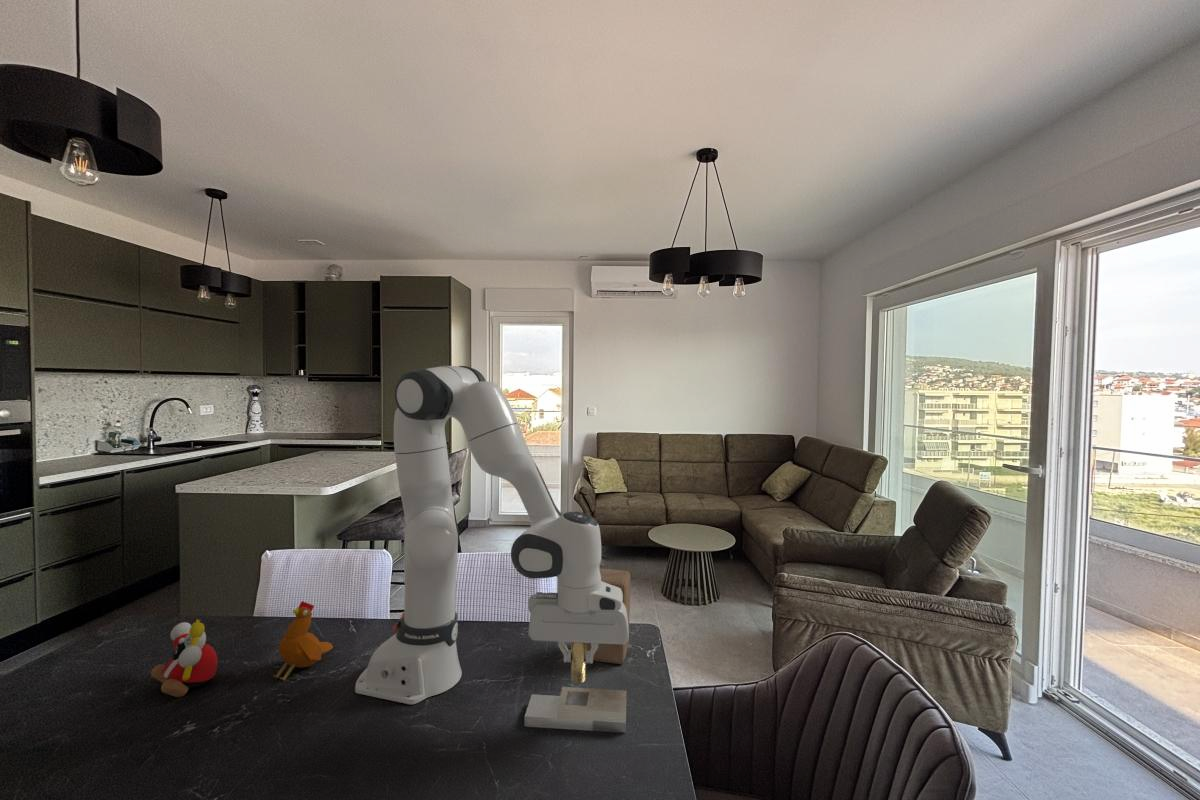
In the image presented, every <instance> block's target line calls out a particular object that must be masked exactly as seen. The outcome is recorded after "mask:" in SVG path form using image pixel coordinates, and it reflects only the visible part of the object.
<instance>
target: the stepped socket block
mask: <svg viewBox="0 0 1200 800" xmlns="http://www.w3.org/2000/svg"><path fill="white" fill-rule="evenodd" d="M561 687H562V688H561V691H560V695H552V694H551V695H549V694H547V695H546V694H536V693H535V694H531V695H530V699H529V702H528V706H527V707H526V711H525V714H524V721H523V722H524V727H528V728H544V729H545V728H546V729H556V730H557V729H561V730H574V731H576V730H577V731H590V732H604V733H605V732H606V733H620V734H622V733H623V734H626V733H627V731H626V730H627V690H625V689H624V690H621V689H607V688H606V689H603V688H589V687H588V688H587V687H574V686H573V687H571V686H561Z"/></svg>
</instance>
